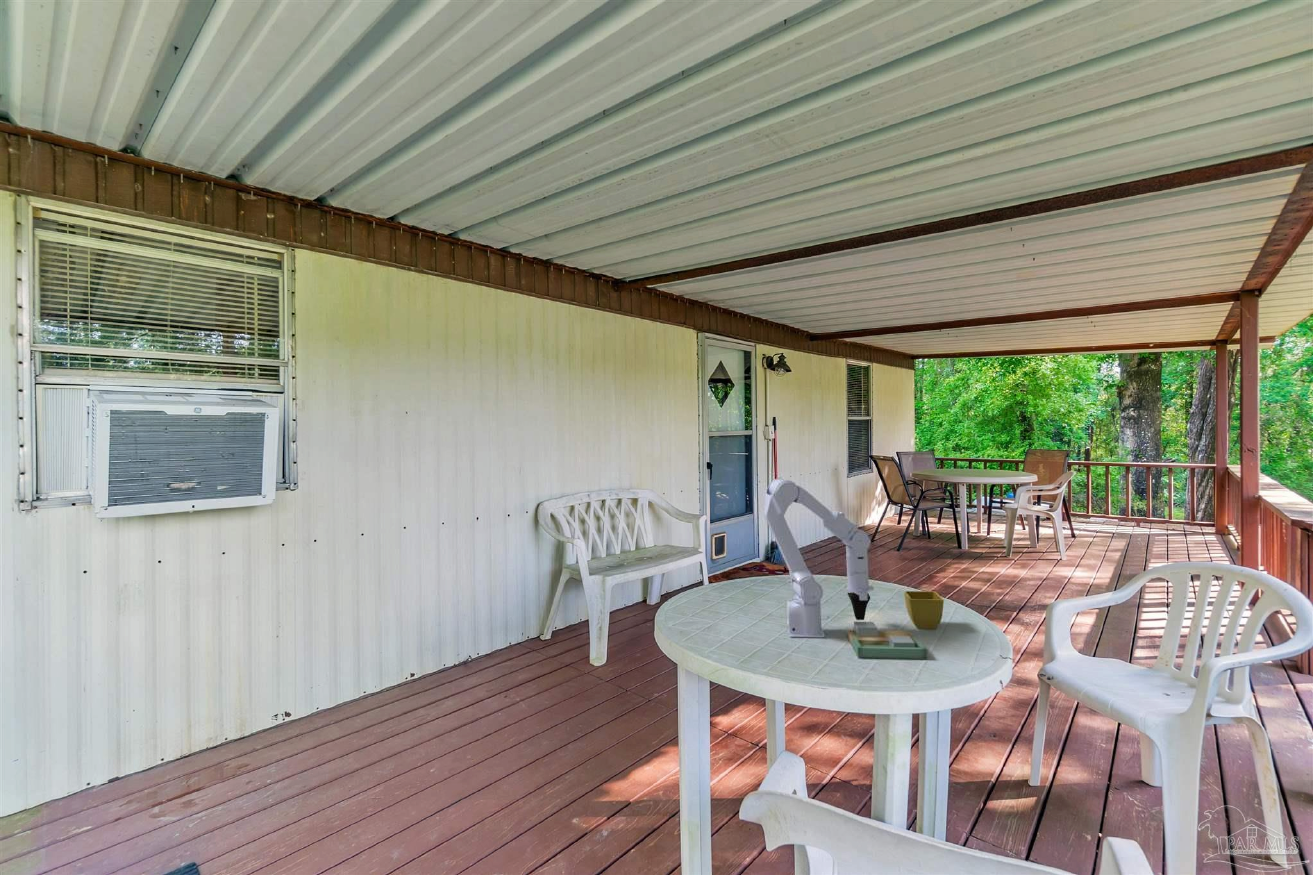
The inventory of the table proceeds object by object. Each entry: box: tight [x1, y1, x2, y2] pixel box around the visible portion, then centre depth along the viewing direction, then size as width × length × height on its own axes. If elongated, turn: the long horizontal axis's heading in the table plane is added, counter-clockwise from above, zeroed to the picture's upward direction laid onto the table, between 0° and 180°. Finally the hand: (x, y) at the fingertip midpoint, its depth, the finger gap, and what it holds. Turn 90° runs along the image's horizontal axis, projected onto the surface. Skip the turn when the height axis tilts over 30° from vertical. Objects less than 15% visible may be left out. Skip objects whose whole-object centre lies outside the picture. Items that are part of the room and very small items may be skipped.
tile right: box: [889, 636, 915, 648], centre depth 146 cm, size 5×5×2 cm
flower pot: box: [903, 590, 945, 630], centre depth 164 cm, size 9×9×9 cm
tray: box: [851, 636, 928, 660], centre depth 145 cm, size 16×8×2 cm, turn 81°
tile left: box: [853, 621, 878, 637], centre depth 155 cm, size 5×5×2 cm
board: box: [846, 629, 913, 646], centre depth 153 cm, size 16×8×2 cm, turn 81°
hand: (859, 619), depth 163 cm, fingers closed
